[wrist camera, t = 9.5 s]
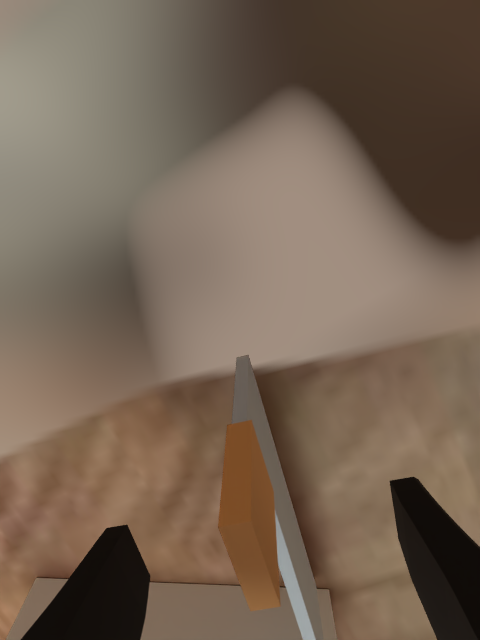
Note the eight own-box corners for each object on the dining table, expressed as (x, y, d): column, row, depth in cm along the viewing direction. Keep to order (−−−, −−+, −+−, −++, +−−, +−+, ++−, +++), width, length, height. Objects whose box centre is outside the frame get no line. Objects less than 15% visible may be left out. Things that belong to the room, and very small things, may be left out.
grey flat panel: (318, 584, 23) (353, 816, 15) (303, 587, 23) (330, 819, 15) (251, 354, 18) (251, 521, 10) (233, 358, 18) (218, 527, 10)
